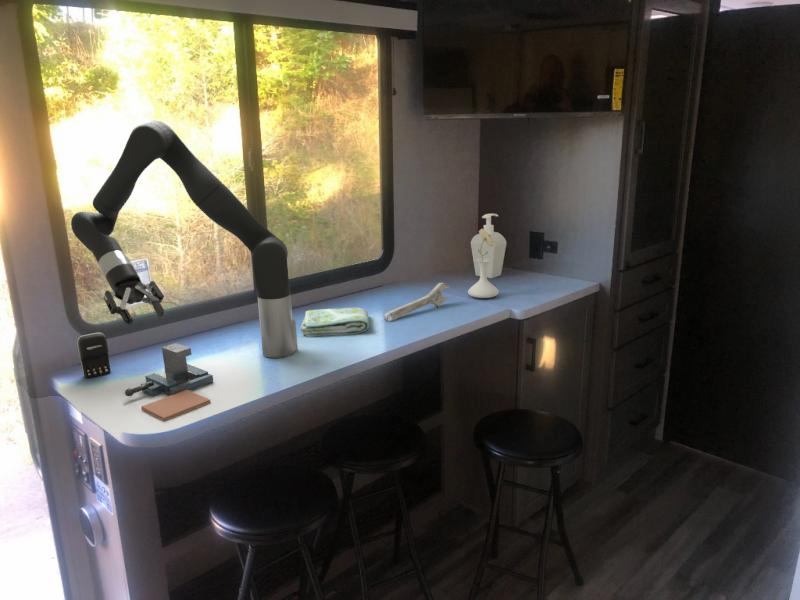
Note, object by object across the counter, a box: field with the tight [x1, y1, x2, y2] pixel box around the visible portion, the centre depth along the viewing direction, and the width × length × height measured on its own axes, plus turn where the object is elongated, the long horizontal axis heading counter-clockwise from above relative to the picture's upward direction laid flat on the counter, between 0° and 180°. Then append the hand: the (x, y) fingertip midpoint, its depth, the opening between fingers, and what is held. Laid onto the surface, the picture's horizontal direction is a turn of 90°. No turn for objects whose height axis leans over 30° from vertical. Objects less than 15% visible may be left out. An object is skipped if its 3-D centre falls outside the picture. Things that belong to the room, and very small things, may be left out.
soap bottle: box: [470, 213, 507, 279], centre depth 263 cm, size 12×10×26 cm
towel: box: [300, 307, 370, 337], centre depth 203 cm, size 18×21×5 cm
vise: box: [124, 363, 214, 397], centre depth 158 cm, size 20×13×3 cm, turn 140°
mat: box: [140, 390, 211, 422], centre depth 148 cm, size 12×10×1 cm
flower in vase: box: [467, 228, 499, 299], centre depth 231 cm, size 13×11×25 cm
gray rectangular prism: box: [161, 342, 192, 385], centre depth 160 cm, size 4×7×10 cm, turn 50°
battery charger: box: [76, 332, 112, 379], centre depth 168 cm, size 7×4×11 cm, turn 124°
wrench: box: [383, 282, 450, 322], centre depth 216 cm, size 8×2×30 cm
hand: (146, 319), depth 165 cm, fingers open, 8 cm apart
